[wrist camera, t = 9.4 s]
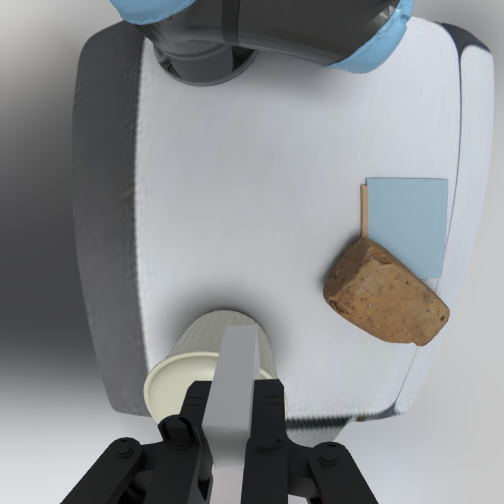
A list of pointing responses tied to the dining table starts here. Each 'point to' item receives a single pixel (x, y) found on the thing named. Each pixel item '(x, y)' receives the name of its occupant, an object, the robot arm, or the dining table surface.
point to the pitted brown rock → (384, 296)
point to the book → (407, 220)
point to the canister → (198, 362)
